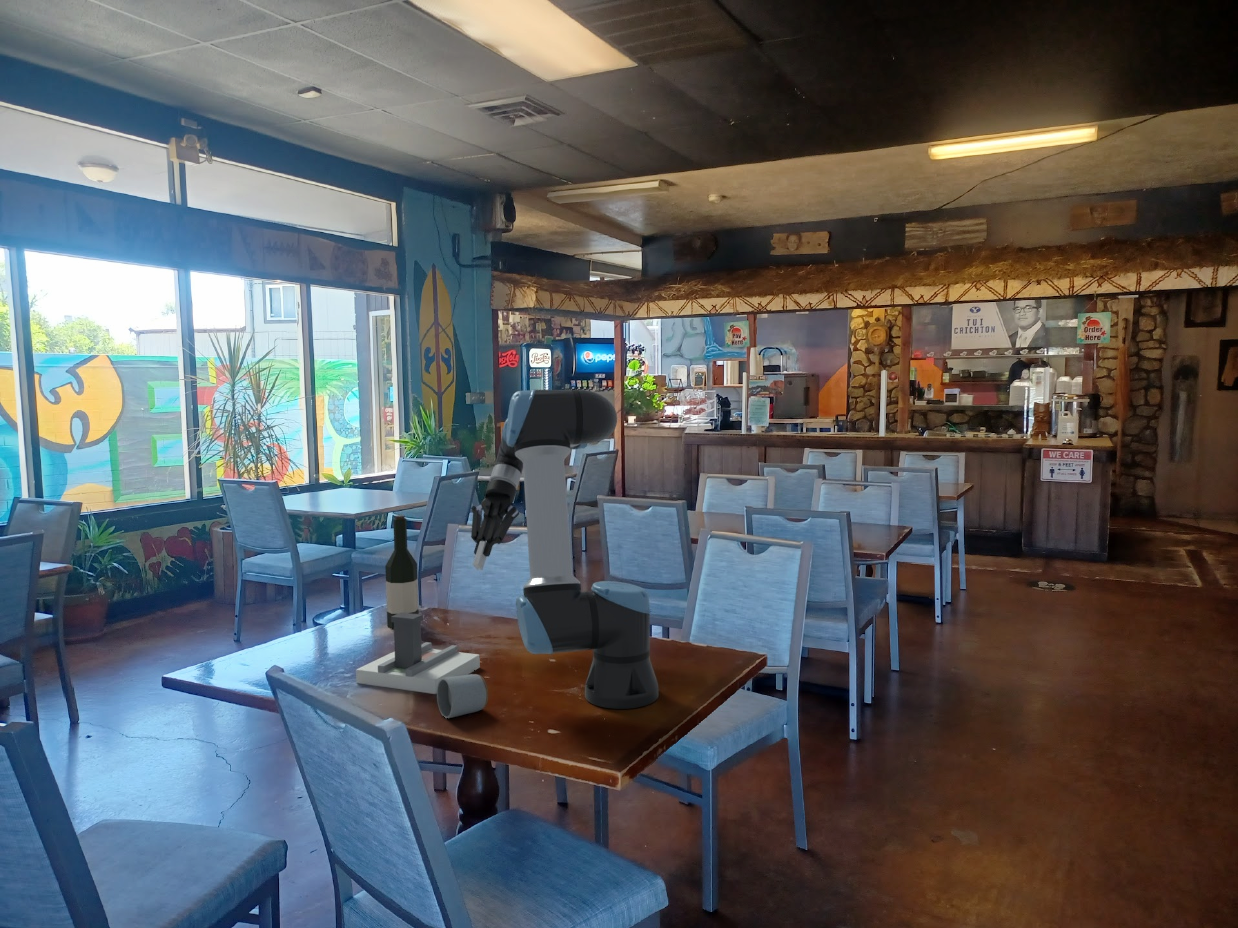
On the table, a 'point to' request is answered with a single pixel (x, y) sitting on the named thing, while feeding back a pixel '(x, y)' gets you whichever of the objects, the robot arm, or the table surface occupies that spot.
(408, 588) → the wine bottle
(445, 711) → the ceramic mug
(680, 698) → the table surface
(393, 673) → the plate
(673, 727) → the table surface
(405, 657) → the handle
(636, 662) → the robot arm
